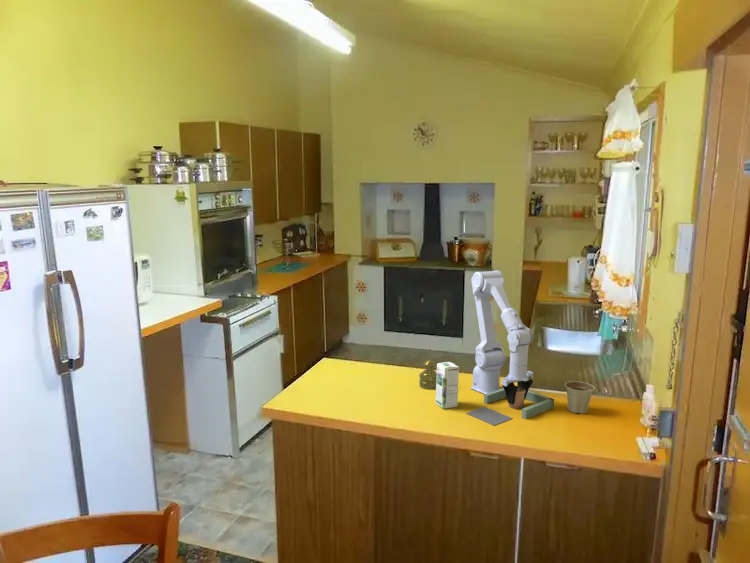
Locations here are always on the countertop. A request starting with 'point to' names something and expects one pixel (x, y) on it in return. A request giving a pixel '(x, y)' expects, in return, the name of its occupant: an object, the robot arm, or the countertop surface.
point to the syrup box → (447, 385)
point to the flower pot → (578, 396)
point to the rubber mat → (489, 416)
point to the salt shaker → (428, 376)
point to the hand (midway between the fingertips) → (516, 401)
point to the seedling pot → (519, 399)
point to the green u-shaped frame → (540, 400)
